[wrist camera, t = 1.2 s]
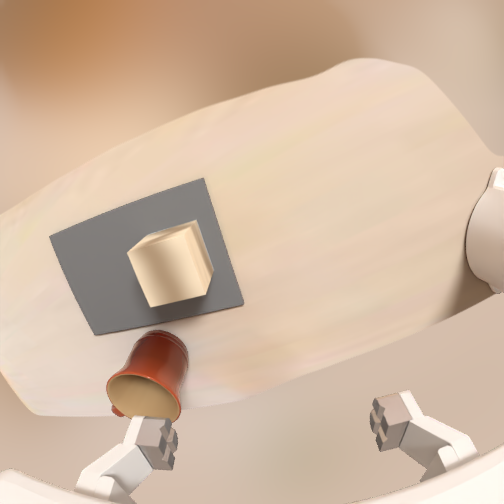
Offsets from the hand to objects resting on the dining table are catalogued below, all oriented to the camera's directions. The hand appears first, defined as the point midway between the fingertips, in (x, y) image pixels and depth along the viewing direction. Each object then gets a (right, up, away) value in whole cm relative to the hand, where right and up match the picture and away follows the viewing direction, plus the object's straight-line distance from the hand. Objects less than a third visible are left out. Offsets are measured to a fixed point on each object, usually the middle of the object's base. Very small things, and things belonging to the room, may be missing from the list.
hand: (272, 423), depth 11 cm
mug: (-14, -7, +29) cm, 33 cm away
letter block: (-9, +7, +23) cm, 25 cm away
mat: (-14, +5, +24) cm, 29 cm away
